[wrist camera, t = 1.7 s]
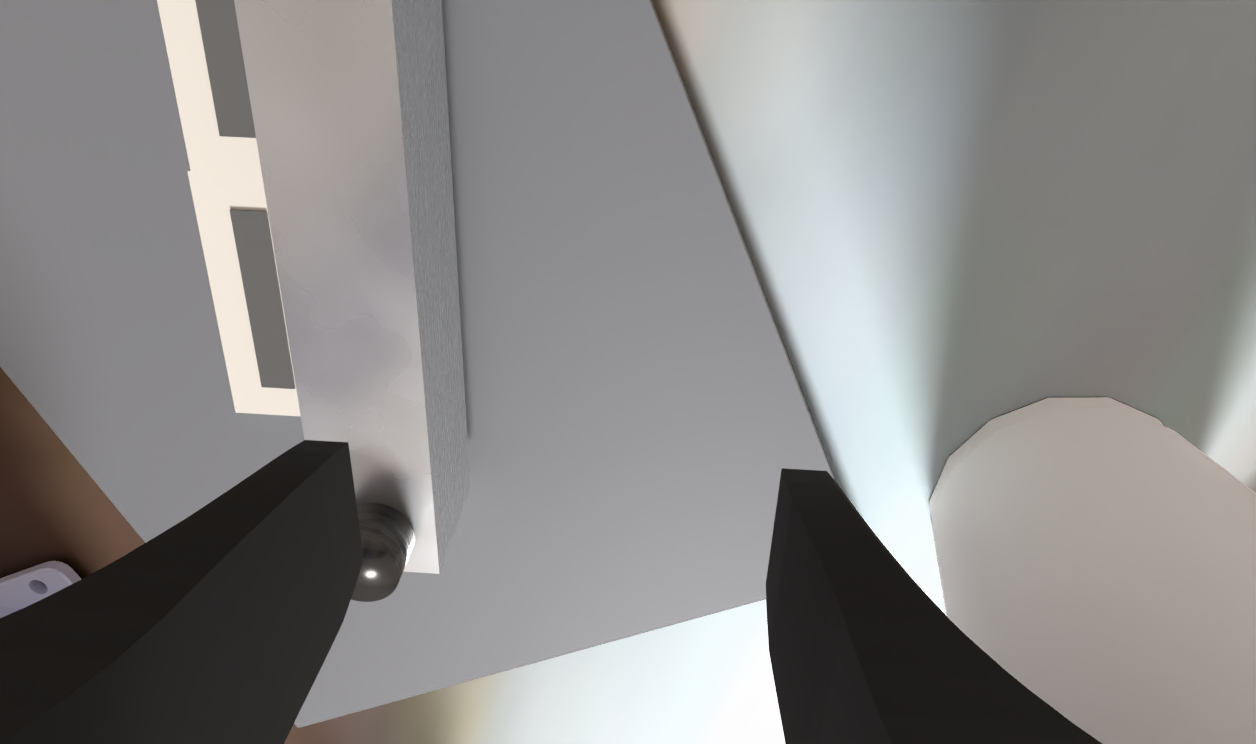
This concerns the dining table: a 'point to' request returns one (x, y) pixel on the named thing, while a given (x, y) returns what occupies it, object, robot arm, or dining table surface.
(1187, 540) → the foam cup
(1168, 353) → the dining table surface
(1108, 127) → the dining table surface
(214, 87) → the label
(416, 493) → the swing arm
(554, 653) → the board
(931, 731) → the robot arm
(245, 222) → the label
